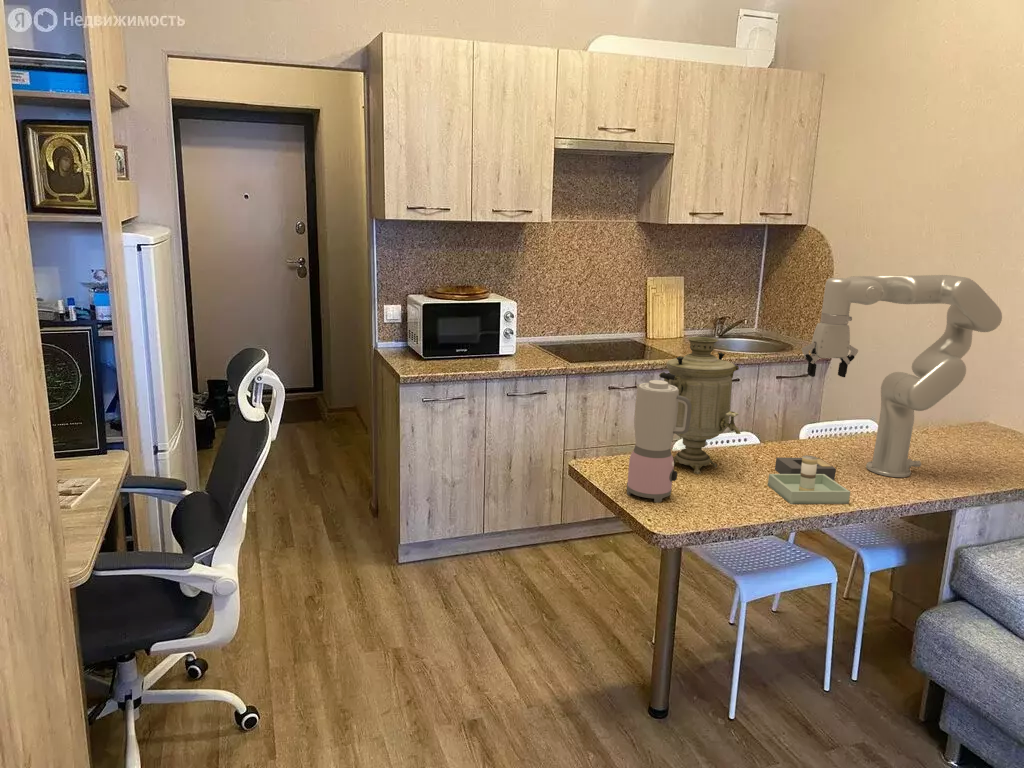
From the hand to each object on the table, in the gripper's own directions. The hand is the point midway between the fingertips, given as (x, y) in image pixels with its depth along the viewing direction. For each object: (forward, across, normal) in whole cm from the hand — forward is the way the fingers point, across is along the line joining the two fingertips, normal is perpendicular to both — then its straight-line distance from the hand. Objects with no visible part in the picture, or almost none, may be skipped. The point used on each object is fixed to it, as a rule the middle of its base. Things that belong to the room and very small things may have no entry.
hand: (826, 376), depth 222 cm
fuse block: (+30, +5, +4) cm, 31 cm away
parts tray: (+30, +12, +19) cm, 38 cm away
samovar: (+31, +37, -2) cm, 48 cm away
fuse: (+29, +12, +19) cm, 37 cm away
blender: (+31, +57, +20) cm, 68 cm away
